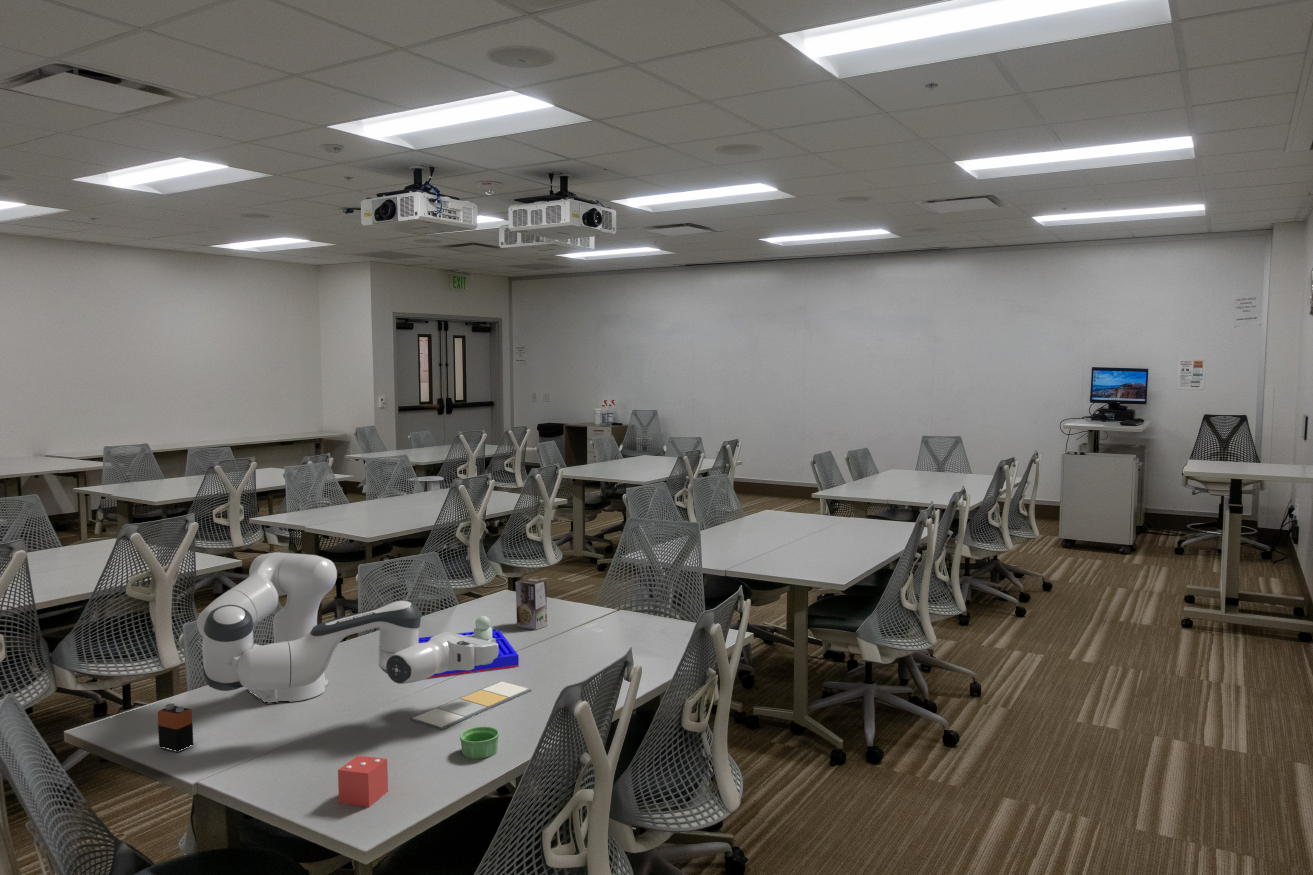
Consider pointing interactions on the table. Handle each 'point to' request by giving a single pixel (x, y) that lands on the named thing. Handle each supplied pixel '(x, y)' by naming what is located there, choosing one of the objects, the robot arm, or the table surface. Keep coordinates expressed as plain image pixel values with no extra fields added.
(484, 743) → the ramekin
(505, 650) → the maze
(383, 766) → the red die
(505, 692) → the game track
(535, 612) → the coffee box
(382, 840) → the table surface
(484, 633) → the pawn
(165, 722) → the battery
